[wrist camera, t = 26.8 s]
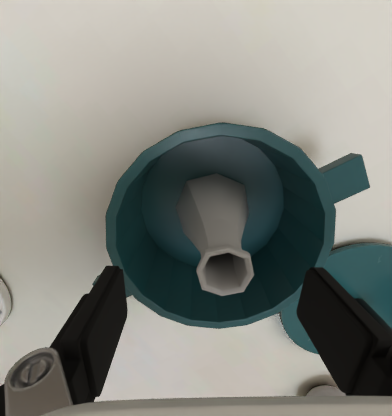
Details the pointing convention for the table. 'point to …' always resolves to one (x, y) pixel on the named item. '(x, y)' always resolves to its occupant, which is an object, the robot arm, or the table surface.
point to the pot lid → (353, 286)
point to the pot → (253, 231)
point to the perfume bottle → (325, 391)
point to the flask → (217, 232)
